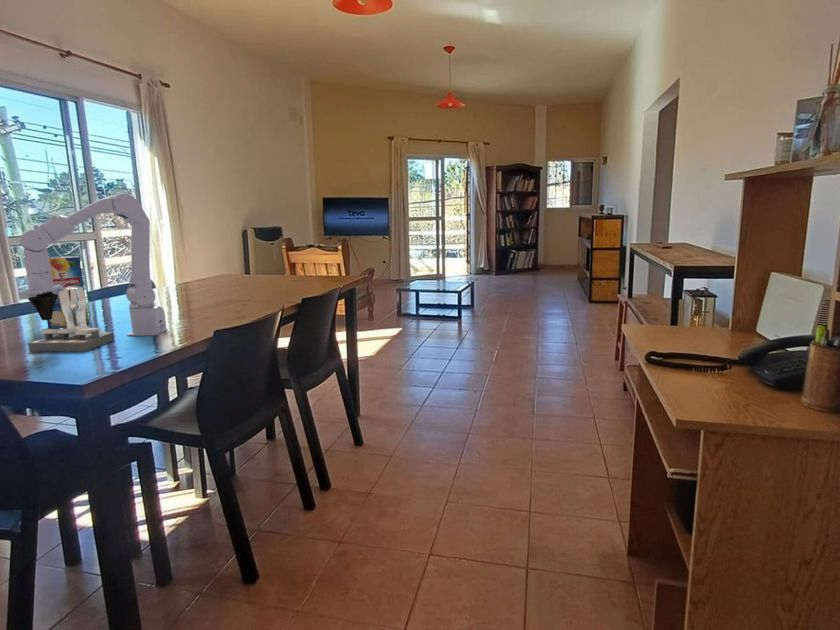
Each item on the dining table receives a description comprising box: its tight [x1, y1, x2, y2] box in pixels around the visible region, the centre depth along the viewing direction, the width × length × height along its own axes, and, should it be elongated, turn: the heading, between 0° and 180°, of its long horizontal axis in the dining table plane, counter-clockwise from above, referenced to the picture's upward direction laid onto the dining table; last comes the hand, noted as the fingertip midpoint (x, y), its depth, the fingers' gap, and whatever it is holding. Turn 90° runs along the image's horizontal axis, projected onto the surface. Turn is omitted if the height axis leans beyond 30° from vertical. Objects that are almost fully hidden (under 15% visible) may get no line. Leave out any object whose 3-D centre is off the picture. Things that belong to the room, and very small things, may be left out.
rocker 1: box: [40, 328, 58, 335], centre depth 152 cm, size 3×7×1 cm, turn 178°
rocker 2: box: [75, 327, 101, 335], centre depth 152 cm, size 3×7×1 cm, turn 178°
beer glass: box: [59, 286, 89, 330], centre depth 168 cm, size 7×7×15 cm
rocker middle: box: [57, 328, 77, 334], centre depth 152 cm, size 3×7×1 cm, turn 178°
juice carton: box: [42, 255, 91, 330], centre depth 178 cm, size 12×8×24 cm, turn 125°
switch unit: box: [27, 330, 115, 353], centre depth 152 cm, size 16×13×4 cm
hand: (46, 319), depth 148 cm, fingers closed
